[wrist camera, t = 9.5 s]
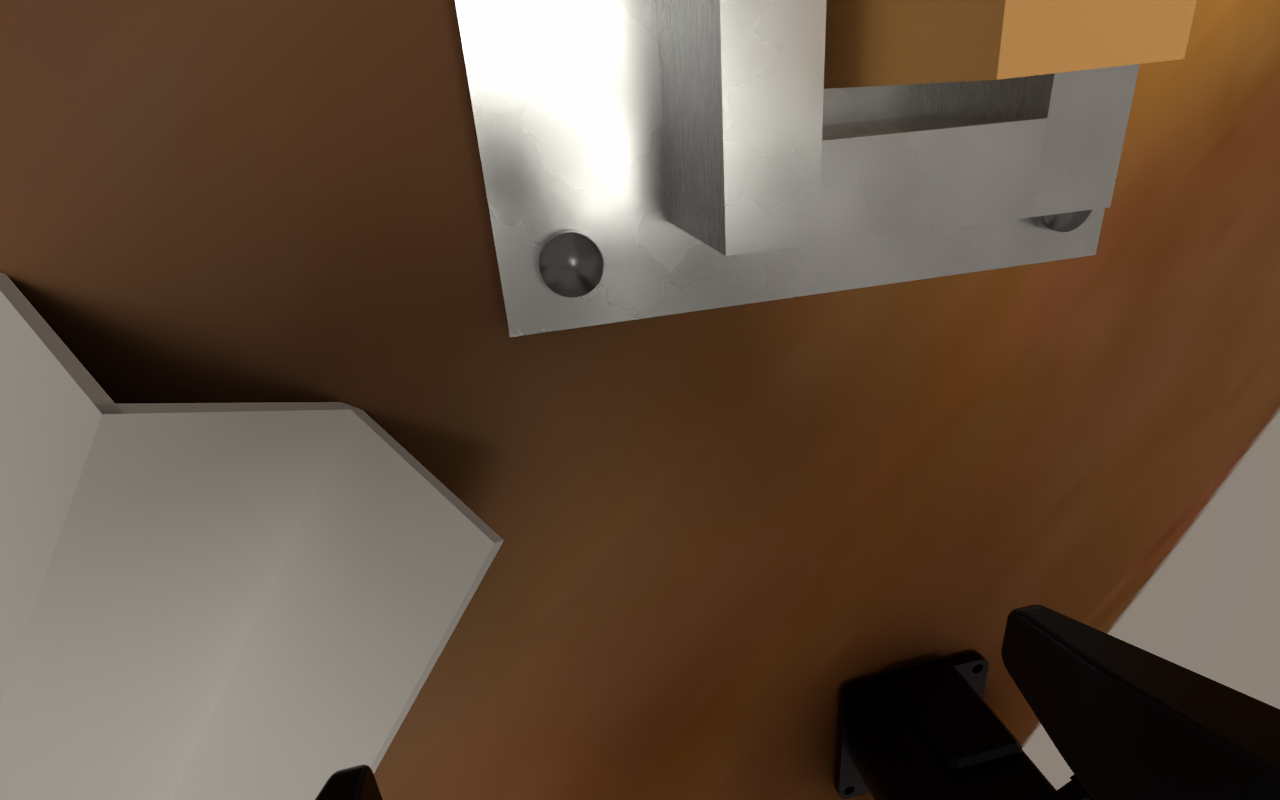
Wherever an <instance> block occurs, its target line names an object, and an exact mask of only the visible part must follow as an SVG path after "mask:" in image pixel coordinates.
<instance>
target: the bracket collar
mask: <svg viewBox="0 0 1280 800" xmlns="http://www.w3.org/2000/svg"><path fill="white" fill-rule="evenodd" d="M826 2H827V0H455V5H456V11H457V17H458V23H459V29H460V35H461V41H462V47H463V54H464V60H465V66H466V72H467V78H468V84H469V90H470V96H471V102H472V108H473V114H474V121H475V127H476V133H477V139H478V145H479V151H480V157H481V163H482V169H483V175H484V181H485V187H486V194H487V200H488V206H489V212H490V218H491V224H492V230H493V236H494V242H495V248H496V254H497V261H498V267H499V273H500V279H501V285H502V291H503V297H504V303H505V309H506V315H507V321H508V328H509V334H510V337H516V336H523V335H530V334H537V333H544V332H551V331H558V330H565V329H573V328H580V327H587V326H594V325H601V324H608V323H615V322H622V321H629V320H636V319H644V318H651V317H658V316H665V315H672V314H679V313H686V312H693V311H700V310H707V309H715V308H722V307H729V306H736V305H743V304H750V303H757V302H764V301H771V300H778V299H786V298H793V297H800V296H807V295H814V294H821V293H828V292H835V291H842V290H849V289H856V288H864V287H871V286H878V285H885V284H892V283H899V282H906V281H913V280H920V279H927V278H935V277H942V276H949V275H956V274H963V273H970V272H977V271H984V270H991V269H998V268H1006V267H1013V266H1020V265H1027V264H1034V263H1041V262H1048V261H1055V260H1062V259H1069V258H1077V257H1084V256H1091V255H1095V254H1096V250H1097V245H1098V240H1099V235H1100V230H1101V225H1102V220H1103V215H1104V210H1105V208H1108V207H1110V205H1111V200H1112V196H1113V191H1114V186H1115V181H1116V176H1117V171H1118V167H1119V162H1120V157H1121V152H1122V147H1123V142H1124V137H1125V133H1126V128H1127V123H1128V118H1129V113H1130V108H1131V104H1132V99H1133V94H1134V89H1135V84H1136V79H1137V75H1138V70H1139V65H1140V64H1134V65H1125V66H1116V67H1107V68H1098V69H1089V70H1080V71H1071V72H1062V73H1053V74H1044V75H1035V76H1026V77H1017V78H1008V79H999V80H982V81H963V82H944V83H925V84H906V85H887V86H868V87H849V88H830V89H824V63H825V33H826Z"/></svg>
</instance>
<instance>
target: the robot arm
mask: <svg viewBox="0 0 1280 800" xmlns="http://www.w3.org/2000/svg"><path fill="white" fill-rule="evenodd" d="M1001 653H1002V659H1003V663H1004V665H1005V667H1006V669H1007V671H1008V673H1009V674H1010V676H1011V677H1012V679H1013V680H1014V682H1015V684H1016V685H1017V687H1018V688H1019V690H1020V691H1021V693H1022V694H1023V696H1024V698H1025V699H1026V701H1027V702H1028V704H1029V705H1030V707H1031V709H1032V710H1033V712H1034V713H1035V715H1036V716H1037V718H1038V719H1039V721H1040V723H1041V724H1042V725H1043V727H1044V729H1045V730H1046V732H1047V734H1048V735H1049V737H1050V738H1051V740H1052V741H1053V743H1054V745H1055V746H1056V748H1057V749H1058V751H1059V752H1060V754H1061V755H1062V757H1063V758H1064V760H1065V761H1066V763H1067V764H1068V766H1069V767H1070V768H1071V770H1072V771H1073V773H1074V775H1073V776H1071V777H1070V778H1071V781H1070V782H1069V783H1067V784H1066V785H1065V786H1063V787H1062V788H1060V789H1059V790H1056V789H1055V788H1054V787H1053V786H1052V785H1051V783H1050V782H1049V781H1048V780H1047V779H1046V777H1045V776H1044V775H1043V774H1042V773H1041V772H1040V770H1039V769H1038V768H1037V767H1036V766H1035V764H1034V763H1033V762H1032V761H1031V760H1030V759H1029V757H1028V756H1027V755H1026V754H1025V753H1024V751H1023V750H1022V746H1021V744H1020V743H1019V741H1018V740H1017V739H1016V738H1015V737H1014V735H1013V734H1012V733H1011V732H1010V731H1009V730H1008V728H1007V727H1006V726H1005V725H1004V724H1003V723H1002V721H1001V720H1000V719H999V718H998V717H997V716H996V714H995V713H994V712H993V711H992V710H991V709H990V707H989V706H988V705H987V704H986V703H985V702H984V700H983V693H984V688H985V682H986V677H987V672H988V662H987V661H986V659H985V658H984V657H983V656H982V655H981V654H980V653H970V654H966V655H962V656H958V657H954V658H950V659H946V660H942V661H938V662H934V663H930V664H926V665H922V666H918V667H914V668H910V669H906V670H902V671H897V672H893V673H889V674H885V675H881V676H877V677H873V678H869V679H865V680H861V681H857V682H853V683H850V684H848V685H846V686H845V687H844V688H843V689H842V691H841V694H840V707H839V722H838V738H837V754H836V769H835V789H836V791H837V792H838V794H839V796H840V797H841V798H844V799H846V798H851V797H855V796H858V795H862V794H865V793H869V792H870V793H871V794H872V796H873V798H874V800H1280V709H1277V708H1275V707H1273V706H1270V705H1268V704H1266V703H1264V702H1261V701H1259V700H1257V699H1255V698H1252V697H1250V696H1248V695H1245V694H1243V693H1241V692H1238V691H1236V690H1234V689H1232V688H1229V687H1227V686H1225V685H1223V684H1220V683H1218V682H1216V681H1213V680H1211V679H1209V678H1206V677H1204V676H1202V675H1200V674H1197V673H1195V672H1193V671H1191V670H1188V669H1186V668H1184V667H1181V666H1179V665H1177V664H1174V663H1172V662H1170V661H1168V660H1165V659H1163V658H1161V657H1159V656H1156V655H1154V654H1152V653H1149V652H1147V651H1145V650H1143V649H1140V648H1138V647H1135V646H1133V645H1131V644H1129V643H1127V642H1124V641H1122V640H1120V639H1117V638H1115V637H1113V636H1111V635H1108V634H1106V633H1104V632H1101V631H1099V630H1097V629H1095V628H1092V627H1090V626H1088V625H1085V624H1083V623H1081V622H1079V621H1076V620H1074V619H1072V618H1069V617H1067V616H1065V615H1063V614H1060V613H1058V612H1056V611H1053V610H1051V609H1049V608H1047V607H1044V606H1041V605H1030V606H1026V607H1022V608H1018V609H1014V610H1012V611H1011V612H1010V613H1009V615H1008V618H1007V623H1006V629H1005V634H1004V639H1003V644H1002V650H1001ZM315 800H382V797H381V794H380V791H379V788H378V786H377V783H376V780H375V777H374V774H373V772H372V769H371V768H370V767H369V766H368V765H359V766H354V767H350V768H346V769H342V770H339V771H336V772H335V773H333V774H332V775H331V776H330V778H329V779H328V780H327V782H326V783H325V785H324V786H323V788H322V789H321V791H320V792H319V794H318V795H317V797H316V798H315Z"/></svg>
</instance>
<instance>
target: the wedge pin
mask: <svg viewBox="0 0 1280 800" xmlns="http://www.w3.org/2000/svg"><path fill="white" fill-rule="evenodd" d="M1196 2H1197V0H827V2H826V33H825V63H824V89H830V88H849V87H868V86H887V85H906V84H925V83H944V82H963V81H982V80H999V79H1008V78H1017V77H1026V76H1035V75H1044V74H1053V73H1062V72H1071V71H1080V70H1089V69H1098V68H1107V67H1116V66H1125V65H1134V64H1143V63H1152V62H1161V61H1170V60H1179V59H1184V57H1185V53H1186V48H1187V43H1188V39H1189V34H1190V30H1191V25H1192V20H1193V16H1194V11H1195V6H1196Z"/></svg>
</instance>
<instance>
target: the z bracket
mask: <svg viewBox="0 0 1280 800" xmlns="http://www.w3.org/2000/svg"><path fill="white" fill-rule="evenodd" d="M503 541H504V540H503V539H502V538H501V537H500V536H499V535H498V534H497V533H496V532H494V531H493V530H492V529H491V528H490V527H489V526H488V525H487V524H486V523H485V522H484V521H483V520H481V519H480V518H479V517H478V516H477V515H476V514H475V513H474V512H473V511H472V510H471V509H470V508H468V507H467V506H466V505H465V504H464V503H463V502H462V501H461V500H460V499H459V498H458V497H456V496H455V495H454V494H453V493H452V492H451V491H450V490H449V489H448V488H447V487H446V486H445V485H443V484H442V483H441V482H440V481H439V480H438V479H437V478H436V477H435V476H434V475H433V474H431V473H430V472H429V471H428V470H427V469H426V468H425V467H424V466H423V465H422V464H421V463H420V462H418V461H417V460H416V459H415V458H414V457H413V456H412V455H411V454H410V453H409V452H408V451H407V450H405V449H404V448H403V447H402V446H401V445H400V444H399V443H398V442H397V441H396V440H395V439H393V438H392V437H391V436H390V435H389V434H388V433H387V432H386V431H385V430H384V429H383V428H382V427H380V426H379V425H378V424H377V423H376V422H375V421H374V420H373V419H372V418H371V417H370V416H369V415H367V414H366V413H365V412H364V411H363V410H361V409H359V408H356V407H353V406H351V405H348V404H345V403H343V402H267V403H130V404H115V403H114V402H113V400H112V399H111V398H110V397H109V396H108V395H107V393H106V392H105V391H104V390H103V389H102V387H101V386H100V385H99V384H98V383H97V382H96V380H95V379H94V378H93V377H92V376H91V374H90V373H89V372H88V371H87V370H86V369H85V367H84V366H83V365H82V364H81V363H80V361H79V360H78V359H77V358H76V357H75V355H74V354H73V353H72V352H71V351H70V350H69V348H68V347H67V346H66V345H65V344H64V342H63V341H62V340H61V339H60V338H59V337H58V335H57V334H56V333H55V332H54V331H53V329H52V328H51V327H50V326H49V325H48V324H47V322H46V321H45V320H44V319H43V318H42V316H41V315H40V314H39V313H38V312H37V311H36V309H35V308H34V307H33V306H32V305H31V303H30V302H29V301H28V300H27V299H26V298H25V296H24V295H23V294H22V293H21V292H20V290H19V289H18V288H17V287H16V286H15V284H14V283H13V282H12V281H11V280H10V279H9V277H8V276H7V275H5V274H3V273H0V800H315V798H316V797H317V795H318V794H319V792H320V791H321V789H322V788H323V786H324V785H325V783H326V782H327V780H328V779H329V778H330V776H331V775H332V774H333V773H335V772H336V771H339V770H342V769H346V768H350V767H354V766H359V765H368V766H369V767H370V768H371V769H372V772H373V774H374V773H375V771H376V769H377V767H378V765H379V764H380V762H381V760H382V758H383V756H384V755H385V753H386V751H387V749H388V747H389V746H390V744H391V742H392V740H393V739H394V737H395V735H396V733H397V731H398V730H399V728H400V726H401V724H402V722H403V721H404V719H405V717H406V715H407V713H408V712H409V710H410V708H411V706H412V704H413V703H414V701H415V699H416V697H417V695H418V694H419V692H420V690H421V688H422V687H423V685H424V683H425V681H426V679H427V678H428V676H429V674H430V672H431V670H432V669H433V667H434V665H435V663H436V661H437V660H438V658H439V656H440V654H441V652H442V651H443V649H444V647H445V645H446V643H447V642H448V640H449V638H450V636H451V635H452V633H453V631H454V629H455V627H456V626H457V624H458V622H459V620H460V618H461V617H462V615H463V613H464V611H465V609H466V608H467V606H468V604H469V602H470V600H471V599H472V597H473V595H474V593H475V592H476V590H477V588H478V586H479V584H480V583H481V581H482V579H483V577H484V575H485V574H486V572H487V570H488V568H489V566H490V565H491V563H492V561H493V559H494V557H495V556H496V554H497V552H498V550H499V548H500V547H501V545H502V543H503Z"/></svg>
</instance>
